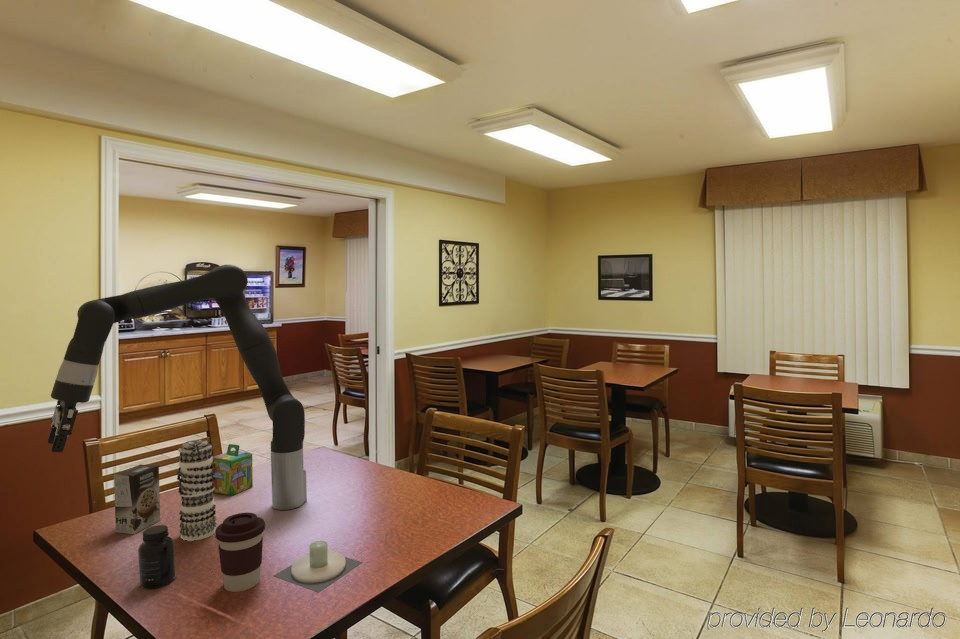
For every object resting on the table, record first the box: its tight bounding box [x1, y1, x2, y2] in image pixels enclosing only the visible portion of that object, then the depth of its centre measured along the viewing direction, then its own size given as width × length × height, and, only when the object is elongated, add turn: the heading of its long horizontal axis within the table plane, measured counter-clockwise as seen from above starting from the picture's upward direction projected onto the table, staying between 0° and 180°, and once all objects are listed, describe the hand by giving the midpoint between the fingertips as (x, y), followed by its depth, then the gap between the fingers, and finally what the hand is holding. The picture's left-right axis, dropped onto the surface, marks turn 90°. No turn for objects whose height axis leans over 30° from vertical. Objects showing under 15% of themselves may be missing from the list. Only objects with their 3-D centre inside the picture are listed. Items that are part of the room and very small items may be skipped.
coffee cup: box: [214, 512, 266, 593], centre depth 116 cm, size 10×10×15 cm
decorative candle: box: [176, 439, 217, 542], centre depth 140 cm, size 9×9×25 cm
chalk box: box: [212, 443, 254, 497], centre depth 172 cm, size 9×9×15 cm
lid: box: [291, 540, 346, 583], centre depth 121 cm, size 12×12×6 cm
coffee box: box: [113, 464, 161, 535], centre depth 145 cm, size 9×6×16 cm
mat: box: [273, 556, 364, 593], centre depth 121 cm, size 14×14×1 cm
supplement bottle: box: [137, 524, 176, 590], centre depth 117 cm, size 7×7×12 cm
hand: (54, 447), depth 125 cm, fingers open, 8 cm apart
